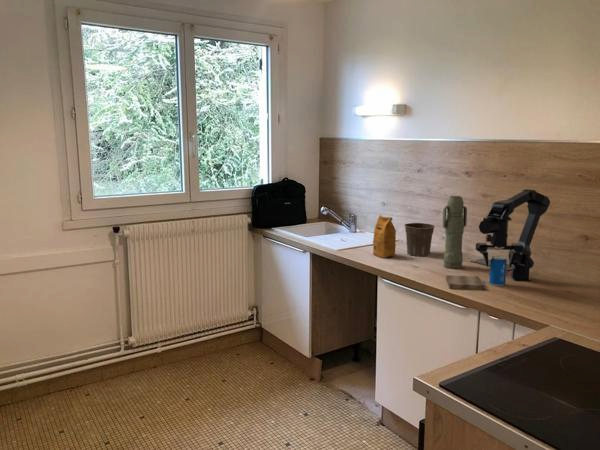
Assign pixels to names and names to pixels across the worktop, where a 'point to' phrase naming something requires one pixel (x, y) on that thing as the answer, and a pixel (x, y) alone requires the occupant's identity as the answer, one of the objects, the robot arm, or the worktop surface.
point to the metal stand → (464, 282)
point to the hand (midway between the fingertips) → (498, 266)
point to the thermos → (454, 231)
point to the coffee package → (384, 238)
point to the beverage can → (498, 271)
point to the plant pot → (419, 238)
